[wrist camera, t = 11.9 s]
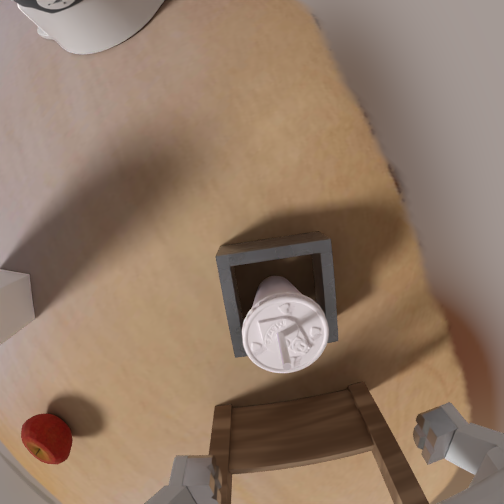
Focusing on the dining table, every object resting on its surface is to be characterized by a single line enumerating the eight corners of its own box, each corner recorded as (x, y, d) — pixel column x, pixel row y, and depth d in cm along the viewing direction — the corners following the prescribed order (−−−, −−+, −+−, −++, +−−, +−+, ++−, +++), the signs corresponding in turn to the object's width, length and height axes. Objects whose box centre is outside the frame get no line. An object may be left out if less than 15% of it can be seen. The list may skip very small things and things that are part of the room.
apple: (76, 448, 37) (58, 480, 29) (36, 423, 36) (14, 451, 28) (82, 422, 35) (61, 457, 28) (38, 394, 34) (13, 424, 27)
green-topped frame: (201, 373, 33) (155, 599, 8) (368, 346, 33) (491, 533, 7) (214, 417, 35) (192, 616, 9) (367, 393, 34) (454, 567, 9)
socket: (220, 246, 30) (215, 256, 26) (318, 231, 30) (330, 238, 26) (236, 335, 32) (235, 357, 28) (327, 321, 32) (338, 340, 28)
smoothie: (266, 249, 30) (281, 302, 17) (319, 283, 31) (367, 352, 18) (230, 302, 32) (220, 383, 18) (283, 333, 32) (304, 422, 19)
